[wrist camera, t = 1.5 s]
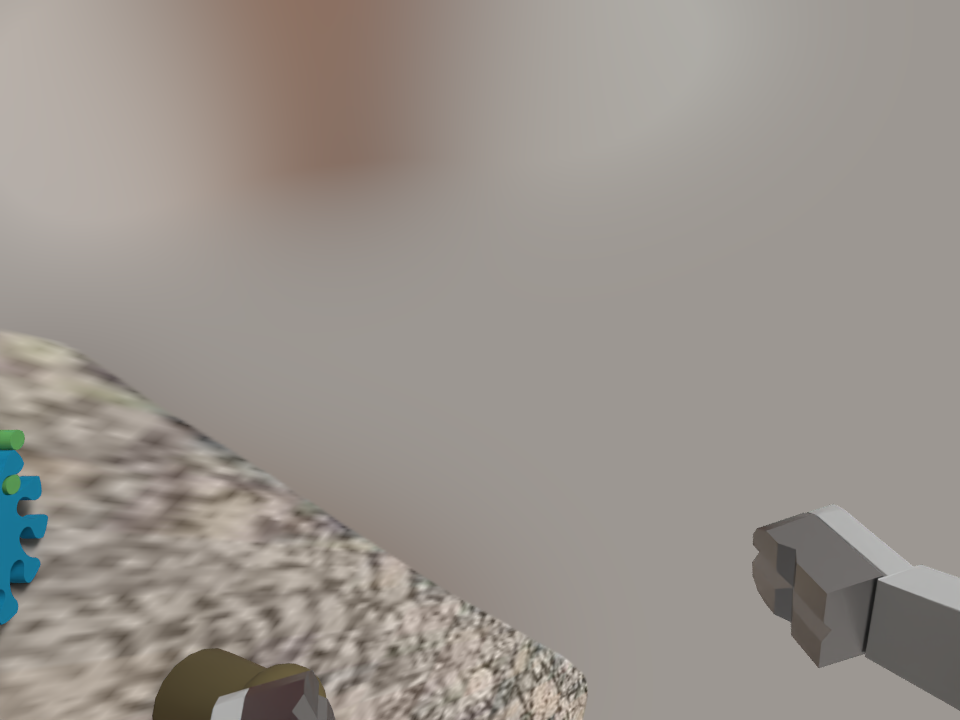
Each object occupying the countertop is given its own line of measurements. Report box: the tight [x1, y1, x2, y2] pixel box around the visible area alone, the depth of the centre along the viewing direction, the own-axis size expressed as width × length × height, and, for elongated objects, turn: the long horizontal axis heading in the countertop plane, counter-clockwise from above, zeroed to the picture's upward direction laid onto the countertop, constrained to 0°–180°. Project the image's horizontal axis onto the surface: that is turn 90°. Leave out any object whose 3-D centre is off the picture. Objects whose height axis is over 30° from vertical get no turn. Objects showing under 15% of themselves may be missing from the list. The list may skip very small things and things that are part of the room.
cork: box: [153, 648, 326, 720], centre depth 34 cm, size 6×6×11 cm
